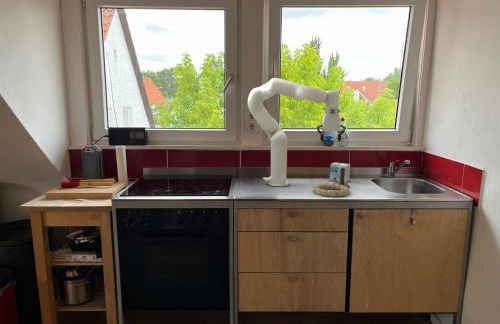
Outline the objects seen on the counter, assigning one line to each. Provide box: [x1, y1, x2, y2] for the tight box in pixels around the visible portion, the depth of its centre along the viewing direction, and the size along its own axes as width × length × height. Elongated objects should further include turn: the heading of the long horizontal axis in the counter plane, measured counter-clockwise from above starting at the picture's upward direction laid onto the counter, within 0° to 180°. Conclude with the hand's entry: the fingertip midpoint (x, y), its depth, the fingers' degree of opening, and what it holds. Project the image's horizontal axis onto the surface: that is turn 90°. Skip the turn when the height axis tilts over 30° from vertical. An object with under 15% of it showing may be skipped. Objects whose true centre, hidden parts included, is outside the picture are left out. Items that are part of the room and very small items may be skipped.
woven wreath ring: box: [312, 182, 351, 198], centre depth 190 cm, size 19×20×3 cm
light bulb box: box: [329, 162, 351, 183], centre depth 218 cm, size 11×7×11 cm, turn 55°
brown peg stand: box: [334, 167, 350, 189], centre depth 203 cm, size 7×7×11 cm
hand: (330, 141), depth 202 cm, fingers open, 9 cm apart
